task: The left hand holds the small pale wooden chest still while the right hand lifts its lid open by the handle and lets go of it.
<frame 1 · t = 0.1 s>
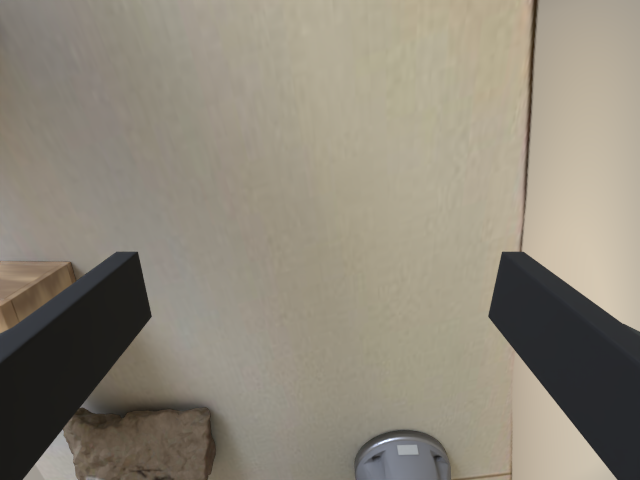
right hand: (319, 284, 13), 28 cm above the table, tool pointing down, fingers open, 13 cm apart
stone: (151, 431, 54), on the table
chest: (47, 304, 46), on the table
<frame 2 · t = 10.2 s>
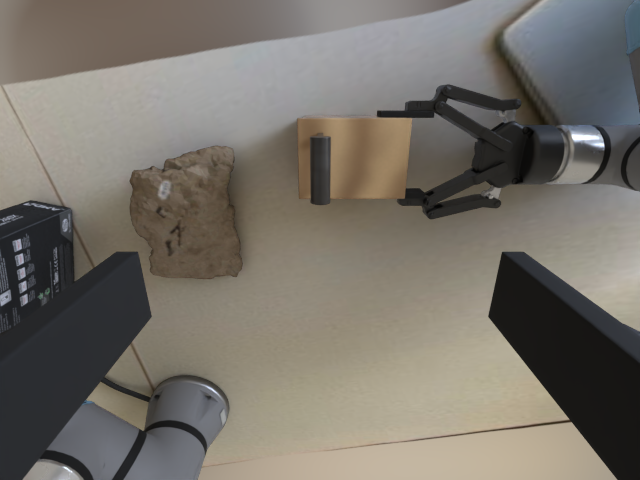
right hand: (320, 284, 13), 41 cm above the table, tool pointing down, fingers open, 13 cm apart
left hand: (376, 155, 45), fingers closed on chest, 9 cm apart
stone: (198, 213, 54), on the table
graphics card box: (58, 249, 56), on the table
lid: (355, 164, 38), point 14 cm above the table, hinge at 0.0°
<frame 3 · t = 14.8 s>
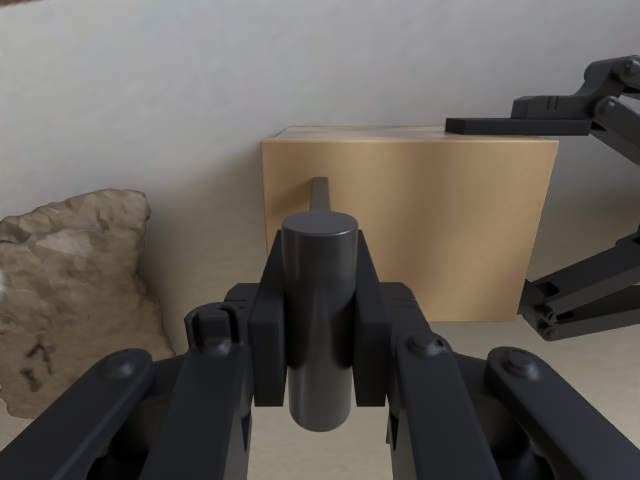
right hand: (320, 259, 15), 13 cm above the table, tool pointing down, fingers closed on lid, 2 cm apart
stone: (99, 301, 30), on the table
chest: (374, 191, 26), on the table, touching left hand
lid: (418, 271, 14), point 14 cm above the table, hinge at -0.2°, touching right hand
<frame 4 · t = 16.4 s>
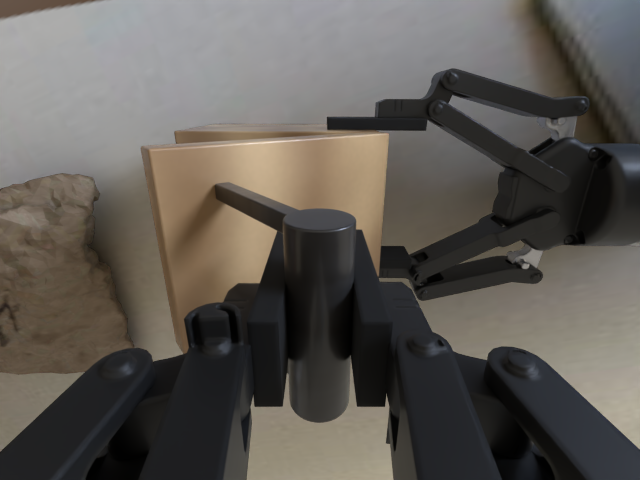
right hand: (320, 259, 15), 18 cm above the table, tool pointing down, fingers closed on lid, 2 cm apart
left hand: (326, 194, 26), fingers closed on chest, 9 cm apart
stone: (62, 273, 35), on the table
chest: (290, 178, 31), on the table, touching left hand
lid: (339, 252, 16), point 17 cm above the table, hinge at 37.9°, touching right hand
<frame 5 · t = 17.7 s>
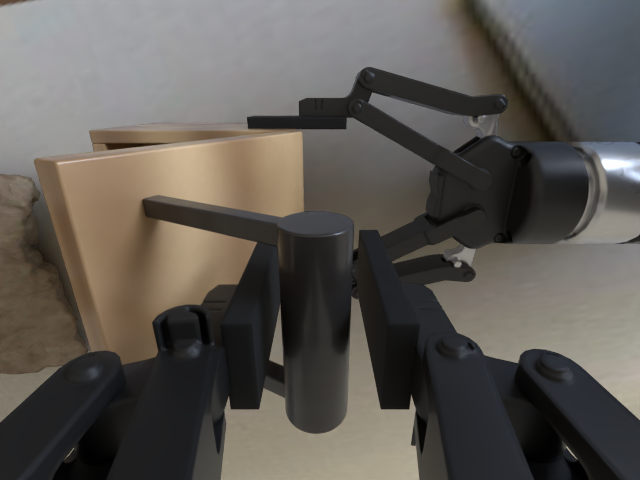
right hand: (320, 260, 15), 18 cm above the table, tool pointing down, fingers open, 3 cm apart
left hand: (256, 194, 26), fingers closed on chest, 9 cm apart
stone: (11, 273, 35), on the table
chest: (232, 177, 31), on the table, touching left hand
lid: (290, 255, 15), point 17 cm above the table, hinge at 60.7°
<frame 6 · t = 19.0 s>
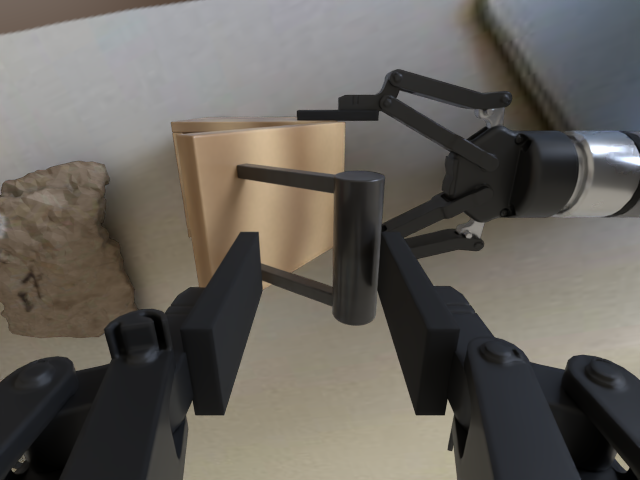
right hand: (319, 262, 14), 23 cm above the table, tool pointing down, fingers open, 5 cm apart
left hand: (299, 176, 30), fingers closed on chest, 9 cm apart
stone: (77, 250, 40), on the table
chest: (272, 164, 36), on the table, touching left hand
lid: (335, 214, 20), point 17 cm above the table, hinge at 55.7°
when the left hand's fingers open (6 cm above the table, at t = 21.7 s): chest stays where it is, on the table.
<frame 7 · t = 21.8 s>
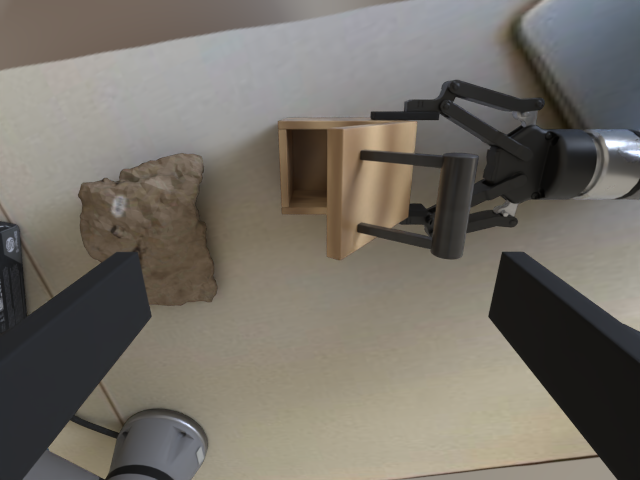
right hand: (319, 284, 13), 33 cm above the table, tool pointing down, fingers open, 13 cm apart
left hand: (369, 165, 38), fingers open, 9 cm apart
stone: (165, 230, 47), on the table
graphics card box: (6, 271, 49), on the table
chest: (338, 157, 43), on the table
lid: (421, 188, 27), point 17 cm above the table, hinge at 54.3°
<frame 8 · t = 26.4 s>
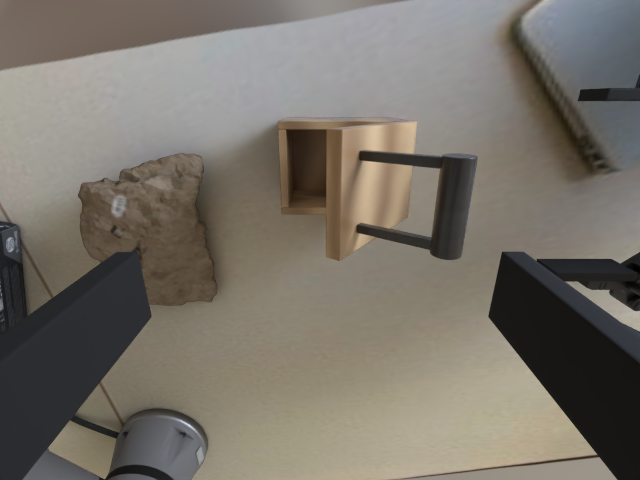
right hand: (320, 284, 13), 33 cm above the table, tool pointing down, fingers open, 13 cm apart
stone: (165, 230, 47), on the table
graphics card box: (6, 271, 49), on the table
chest: (338, 157, 43), on the table
lid: (420, 188, 27), point 17 cm above the table, hinge at 54.3°
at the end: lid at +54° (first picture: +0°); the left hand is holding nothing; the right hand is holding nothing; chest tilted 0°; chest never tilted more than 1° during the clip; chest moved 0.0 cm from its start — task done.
